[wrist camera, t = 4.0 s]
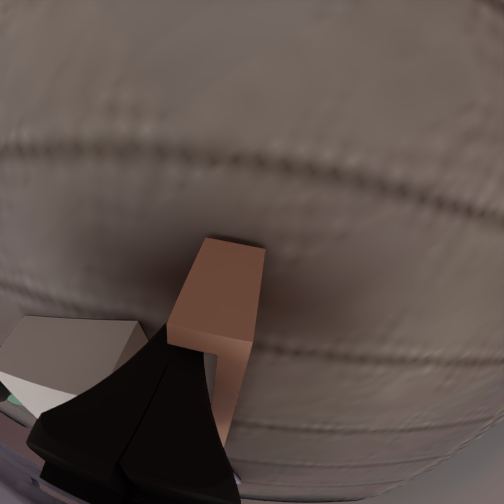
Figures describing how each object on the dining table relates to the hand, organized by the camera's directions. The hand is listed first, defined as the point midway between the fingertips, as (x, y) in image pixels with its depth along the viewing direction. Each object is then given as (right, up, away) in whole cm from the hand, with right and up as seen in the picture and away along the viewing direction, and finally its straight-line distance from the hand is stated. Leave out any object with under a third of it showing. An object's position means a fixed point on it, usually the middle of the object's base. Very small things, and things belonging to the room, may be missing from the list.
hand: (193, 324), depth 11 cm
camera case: (-7, -6, +7) cm, 12 cm away
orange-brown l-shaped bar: (0, -5, +5) cm, 7 cm away
